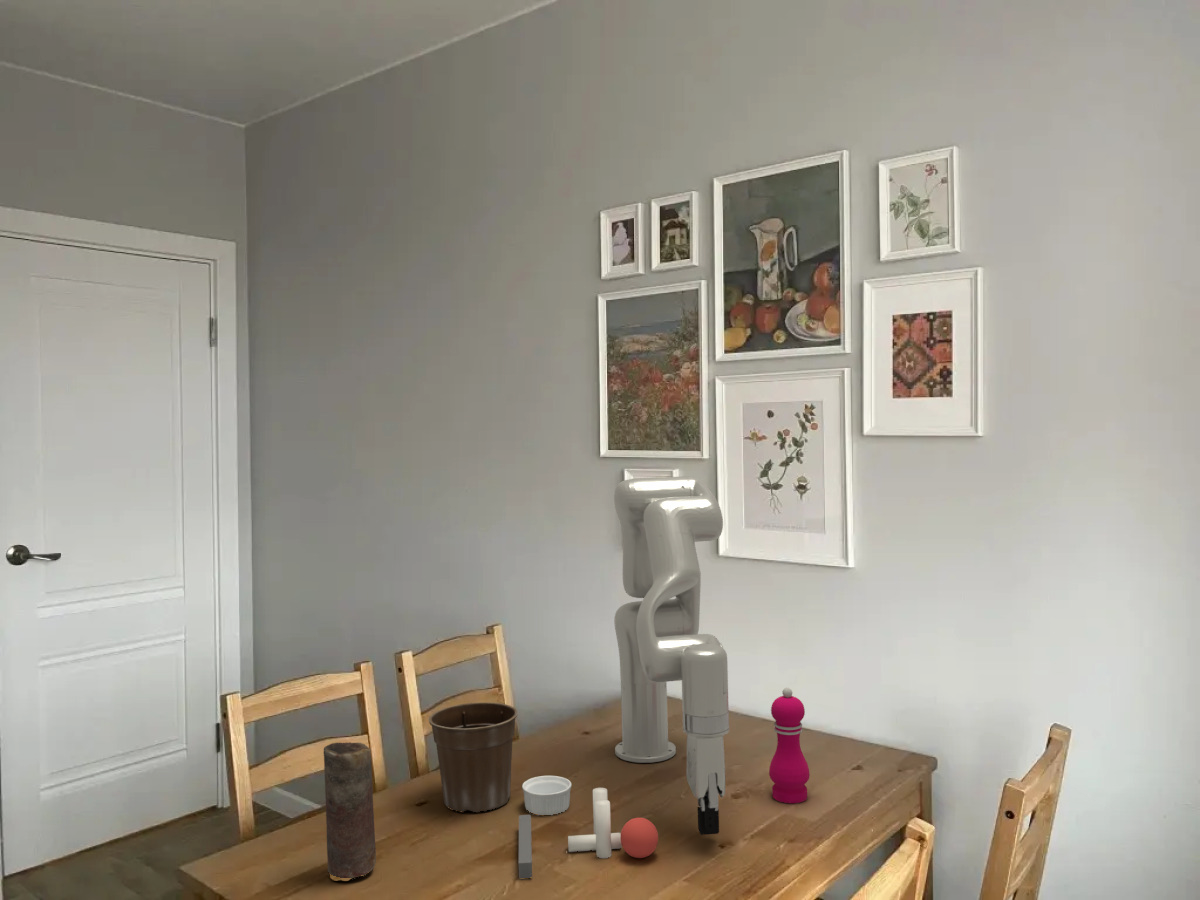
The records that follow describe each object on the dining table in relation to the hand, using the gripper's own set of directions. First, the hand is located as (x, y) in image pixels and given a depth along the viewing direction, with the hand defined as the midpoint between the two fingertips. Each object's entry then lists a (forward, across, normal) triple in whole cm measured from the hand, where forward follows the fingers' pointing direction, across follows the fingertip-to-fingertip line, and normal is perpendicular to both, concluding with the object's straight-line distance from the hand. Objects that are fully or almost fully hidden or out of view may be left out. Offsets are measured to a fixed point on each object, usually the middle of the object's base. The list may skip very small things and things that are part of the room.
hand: (708, 832), depth 159 cm
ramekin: (+2, -18, -26) cm, 32 cm away
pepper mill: (+2, -16, +18) cm, 24 cm away
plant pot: (+2, -23, -39) cm, 45 cm away
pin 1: (+2, -2, -18) cm, 18 cm away
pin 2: (+2, +3, -18) cm, 18 cm away
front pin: (0, 0, -14) cm, 15 cm away
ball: (-2, +4, -12) cm, 13 cm away
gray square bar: (+2, 0, -30) cm, 30 cm away
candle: (+2, +3, -57) cm, 57 cm away
